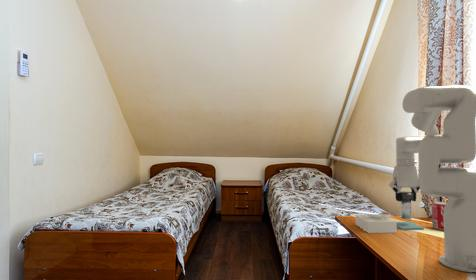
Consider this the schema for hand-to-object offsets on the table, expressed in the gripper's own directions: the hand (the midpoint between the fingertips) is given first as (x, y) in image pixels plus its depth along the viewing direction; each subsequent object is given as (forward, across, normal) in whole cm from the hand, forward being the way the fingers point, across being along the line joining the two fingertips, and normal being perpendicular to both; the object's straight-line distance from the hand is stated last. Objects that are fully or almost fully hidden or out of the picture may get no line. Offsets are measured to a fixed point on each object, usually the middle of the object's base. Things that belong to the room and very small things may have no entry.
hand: (405, 200), depth 141 cm
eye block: (+12, +16, +2) cm, 20 cm away
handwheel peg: (+8, 0, 0) cm, 8 cm away
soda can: (+13, -14, +4) cm, 19 cm away
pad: (+12, 0, 0) cm, 12 cm away
